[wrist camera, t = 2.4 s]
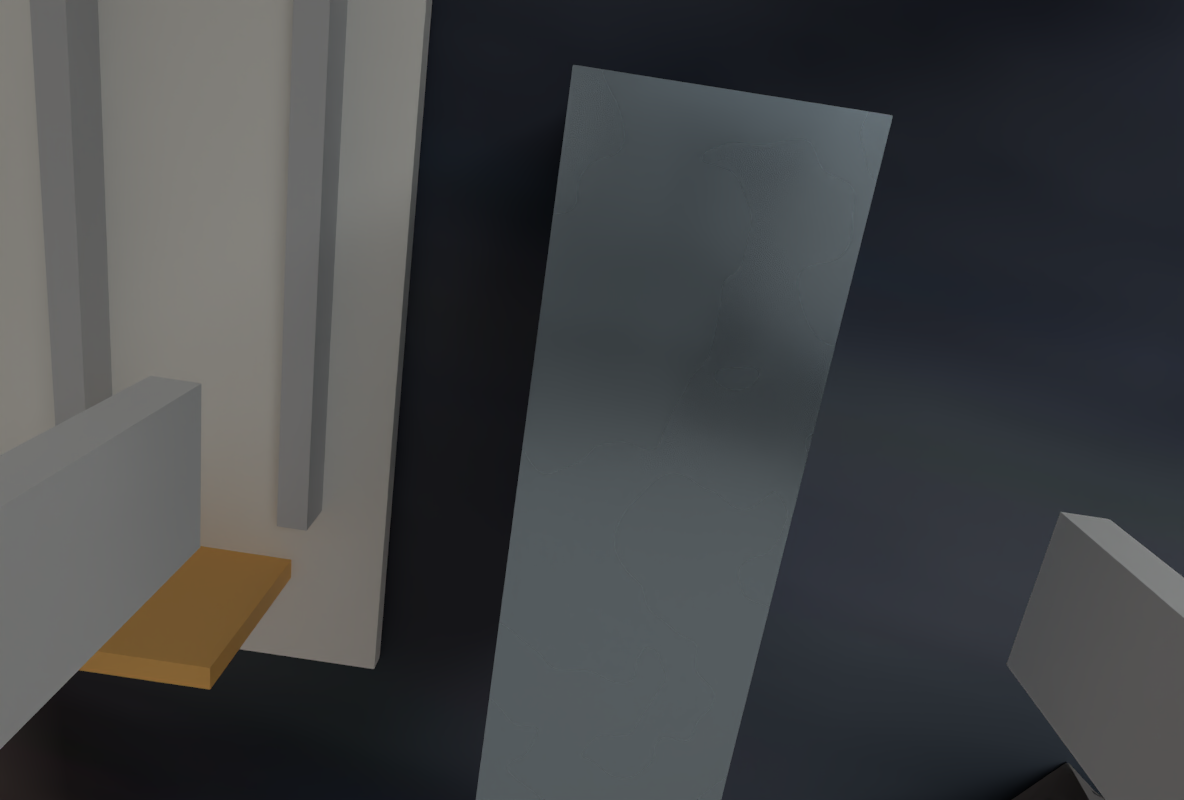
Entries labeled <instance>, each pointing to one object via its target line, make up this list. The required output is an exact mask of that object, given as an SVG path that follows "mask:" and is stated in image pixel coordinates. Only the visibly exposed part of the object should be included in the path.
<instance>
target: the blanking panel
mask: <svg viewBox="0 0 1184 800" xmlns="http://www.w3.org/2000/svg"><path fill="white" fill-rule="evenodd" d="M892 117H893V115H887V114H881V113H875V112H868V111H862V110H856V109H849V108H843V107H837V106H830V105H824V104H818V103H812V102H805V101H799V100H793V99H786V98H780V97H774V96H767V95H761V94H755V93H749V92H742V91H736V90H730V89H723V88H717V87H711V86H704V85H698V84H692V83H686V82H679V81H673V80H667V79H660V78H654V77H648V76H641V75H635V74H629V73H622V72H616V71H610V70H604V69H597V68H591V67H585V66H578V65H573V68H572V76H571V84H570V91H569V99H568V106H567V114H566V121H565V129H564V136H563V144H562V152H561V159H560V167H559V174H558V182H557V189H556V197H555V205H554V212H553V220H552V227H551V235H550V242H549V250H548V257H547V265H546V273H545V280H544V288H543V295H542V303H541V310H540V318H539V326H538V333H537V341H536V348H535V356H534V363H533V371H532V378H531V386H530V394H529V401H528V409H527V416H526V424H525V431H524V439H523V447H522V454H521V462H520V469H519V477H518V484H517V492H516V499H515V507H514V515H513V522H512V530H511V537H510V545H509V552H508V560H507V568H506V575H505V583H504V590H503V598H502V605H501V613H500V620H499V628H498V636H497V643H496V651H495V658H494V666H493V673H492V681H491V689H490V696H489V704H488V711H487V719H486V726H485V734H484V741H483V749H482V757H481V764H480V772H479V779H478V787H477V794H476V800H721V798H722V794H723V790H724V786H725V782H726V778H727V774H728V770H729V766H730V762H731V758H732V754H733V750H734V746H735V742H736V738H737V734H738V730H739V726H740V722H741V718H742V714H743V710H744V706H745V702H746V699H747V695H748V691H749V687H750V683H751V679H752V675H753V671H754V667H755V663H756V659H757V655H758V651H759V647H760V643H761V639H762V635H763V631H764V627H765V623H766V619H767V615H768V611H769V607H770V603H771V599H772V595H773V591H774V587H775V583H776V579H777V575H778V571H779V567H780V563H781V559H782V555H783V551H784V547H785V543H786V539H787V535H788V531H789V527H790V523H791V519H792V515H793V511H794V507H795V503H796V499H797V496H798V492H799V488H800V484H801V480H802V476H803V472H804V468H805V464H806V460H807V456H808V452H809V448H810V444H811V440H812V436H813V432H814V428H815V424H816V420H817V416H818V412H819V408H820V404H821V400H822V396H823V392H824V388H825V384H826V380H827V376H828V372H829V368H830V364H831V360H832V356H833V352H834V348H835V344H836V340H837V336H838V332H839V328H840V324H841V320H842V316H843V312H844V308H845V304H846V300H847V296H848V293H849V289H850V285H851V281H852V277H853V273H854V269H855V265H856V261H857V257H858V253H859V249H860V245H861V241H862V237H863V233H864V229H865V225H866V221H867V217H868V213H869V209H870V205H871V201H872V197H873V193H874V189H875V185H876V181H877V177H878V173H879V169H880V165H881V161H882V157H883V153H884V149H885V145H886V141H887V137H888V133H889V129H890V125H891V121H892Z"/></svg>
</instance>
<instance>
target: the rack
mask: <svg viewBox="0 0 1184 800" xmlns="http://www.w3.org/2000/svg"><path fill="white" fill-rule="evenodd" d="M431 10H432V0H0V455H2V454H4V453H6V452H7V451H9V450H11V449H13V448H15V447H17V446H19V445H21V444H23V443H24V442H26V441H28V440H30V439H32V438H34V437H36V436H38V435H39V434H41V433H43V432H45V431H47V430H49V429H51V428H53V427H55V426H56V425H58V424H60V423H62V422H64V421H66V420H68V419H70V418H71V417H73V416H75V415H77V414H79V413H81V412H83V411H85V410H87V409H88V408H90V407H92V406H94V405H96V404H98V403H100V402H102V401H104V400H105V399H107V398H109V397H111V396H113V395H115V394H117V393H119V392H120V391H122V390H124V389H126V388H128V387H130V386H132V385H134V384H136V383H137V382H139V381H141V380H143V379H145V378H147V377H149V376H155V377H162V378H168V379H175V380H182V381H188V382H195V383H201V524H200V548H199V549H198V550H197V551H196V552H195V553H194V554H193V555H192V556H191V557H190V558H189V559H188V560H187V561H186V562H185V563H184V564H183V565H182V566H181V567H180V568H179V569H178V570H177V571H176V572H175V573H174V574H173V575H172V576H171V577H170V578H169V579H168V580H167V581H166V582H165V583H164V584H163V585H162V586H161V587H160V588H159V589H158V590H157V592H156V593H155V594H154V595H153V596H152V597H151V598H150V599H149V600H148V601H147V602H146V603H145V604H144V605H143V606H142V607H141V608H140V609H139V610H138V611H137V612H136V613H135V614H134V615H133V616H132V617H131V618H130V619H129V620H128V621H127V622H126V623H125V624H124V625H123V626H122V627H121V628H120V629H119V630H118V631H117V632H116V633H115V634H114V635H113V636H112V637H111V638H110V639H109V640H108V641H107V642H106V643H105V644H104V645H103V646H102V647H101V648H100V649H99V650H98V651H97V652H96V653H95V654H94V655H93V656H92V657H91V658H90V659H89V660H88V661H87V662H86V663H85V664H84V665H83V666H82V667H81V668H80V669H79V670H81V671H87V672H94V673H101V674H108V675H114V676H121V677H128V678H135V679H142V680H148V681H155V682H162V683H169V684H175V685H182V686H189V687H196V688H202V689H209V690H210V689H211V688H212V686H213V685H214V683H215V682H216V681H217V679H218V678H219V677H220V675H221V674H222V672H223V671H224V670H225V668H226V667H227V665H228V664H229V663H230V661H231V660H232V659H233V657H234V656H235V654H236V653H237V652H238V650H239V649H241V650H248V651H255V652H262V653H268V654H275V655H282V656H289V657H295V658H302V659H309V660H315V661H322V662H329V663H336V664H342V665H349V666H356V667H363V668H369V669H375V666H376V664H377V662H378V660H379V657H380V647H381V634H382V622H383V609H384V597H385V585H386V572H387V560H388V547H389V535H390V522H391V510H392V497H393V485H394V472H395V460H396V447H397V435H398V422H399V410H400V397H401V385H402V372H403V360H404V347H405V335H406V322H407V310H408V297H409V285H410V272H411V260H412V247H413V235H414V222H415V210H416V197H417V185H418V172H419V160H420V147H421V135H422V122H423V110H424V97H425V85H426V72H427V60H428V47H429V35H430V22H431Z"/></svg>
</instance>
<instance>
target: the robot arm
mask: <svg viewBox="0 0 1184 800" xmlns="http://www.w3.org/2000/svg"><path fill="white" fill-rule="evenodd" d="M200 524H201V383H195V382H188V381H182V380H175V379H168V378H162V377H155V376H149V377H147V378H145V379H143V380H141V381H139V382H137V383H136V384H134V385H132V386H130V387H128V388H126V389H124V390H122V391H120V392H119V393H117V394H115V395H113V396H111V397H109V398H107V399H105V400H104V401H102V402H100V403H98V404H96V405H94V406H92V407H90V408H88V409H87V410H85V411H83V412H81V413H79V414H77V415H75V416H73V417H71V418H70V419H68V420H66V421H64V422H62V423H60V424H58V425H56V426H55V427H53V428H51V429H49V430H47V431H45V432H43V433H41V434H39V435H38V436H36V437H34V438H32V439H30V440H28V441H26V442H24V443H23V444H21V445H19V446H17V447H15V448H13V449H11V450H9V451H7V452H6V453H4V454H2V455H0V749H1V748H2V747H3V746H4V745H5V744H6V743H7V742H8V741H9V740H10V739H11V738H12V737H13V736H14V735H15V734H16V733H17V732H18V731H19V730H20V729H21V728H22V727H23V726H24V725H25V724H26V723H27V722H28V721H29V720H30V719H31V718H32V717H33V716H34V715H35V714H36V713H37V712H38V711H39V710H40V709H41V708H42V707H43V706H44V705H45V704H46V703H47V702H48V701H49V700H50V698H51V697H52V696H53V695H54V694H55V693H56V692H57V691H58V690H59V689H60V688H61V687H62V686H63V685H64V684H65V683H66V682H67V681H68V680H69V679H70V678H71V677H72V676H73V675H74V674H75V673H76V672H77V671H78V670H79V669H80V668H81V667H82V666H83V665H84V664H85V663H86V662H87V661H88V660H89V659H90V658H91V657H92V656H93V655H94V654H95V653H96V652H97V651H98V650H99V649H100V648H101V647H102V646H103V645H104V644H105V643H106V642H107V641H108V640H109V639H110V638H111V637H112V636H113V635H114V634H115V633H116V632H117V631H118V630H119V629H120V628H121V627H122V626H123V625H124V624H125V623H126V622H127V621H128V620H129V619H130V618H131V617H132V616H133V615H134V614H135V613H136V612H137V611H138V610H139V609H140V608H141V607H142V606H143V605H144V604H145V603H146V602H147V601H148V600H149V599H150V598H151V597H152V596H153V595H154V594H155V593H156V592H157V590H158V589H159V588H160V587H161V586H162V585H163V584H164V583H165V582H166V581H167V580H168V579H169V578H170V577H171V576H172V575H173V574H174V573H175V572H176V571H177V570H178V569H179V568H180V567H181V566H182V565H183V564H184V563H185V562H186V561H187V560H188V559H189V558H190V557H191V556H192V555H193V554H194V553H195V552H196V551H197V550H198V549H199V548H200ZM1006 665H1007V666H1008V667H1009V669H1010V670H1011V671H1012V673H1013V674H1014V676H1015V677H1016V678H1017V680H1018V681H1019V682H1020V684H1021V685H1022V686H1023V688H1024V689H1025V691H1026V692H1027V693H1028V695H1029V696H1030V697H1031V699H1032V700H1033V701H1034V703H1035V704H1036V706H1037V707H1038V708H1039V710H1040V711H1041V712H1042V714H1043V715H1044V717H1045V718H1046V719H1047V721H1048V722H1049V723H1050V725H1051V726H1052V727H1053V729H1054V730H1055V732H1056V733H1057V734H1058V736H1059V737H1060V738H1061V740H1062V741H1063V742H1064V744H1065V745H1066V747H1067V748H1068V749H1069V751H1070V752H1071V753H1072V755H1073V756H1074V758H1075V759H1076V760H1077V762H1078V763H1079V764H1080V766H1081V767H1082V768H1083V770H1084V771H1085V773H1086V774H1087V775H1088V777H1089V778H1090V779H1091V781H1092V782H1093V783H1094V785H1095V786H1096V788H1097V789H1098V790H1099V792H1100V793H1101V794H1102V796H1103V797H1104V799H1105V800H1184V578H1183V577H1182V576H1181V575H1179V574H1178V573H1177V572H1176V571H1174V570H1173V569H1172V568H1171V567H1169V566H1168V565H1167V564H1166V563H1164V562H1163V561H1162V560H1160V559H1159V558H1158V557H1157V556H1155V555H1154V554H1153V553H1152V552H1150V551H1149V550H1148V549H1147V548H1145V547H1144V546H1143V545H1141V544H1140V543H1139V542H1138V541H1136V540H1135V539H1134V538H1133V537H1131V536H1130V535H1129V534H1127V533H1126V532H1125V531H1124V530H1122V529H1121V528H1120V527H1119V526H1117V525H1116V524H1115V523H1114V522H1112V521H1111V520H1110V519H1105V518H1098V517H1091V516H1084V515H1078V514H1071V513H1064V512H1060V515H1059V517H1058V520H1057V523H1056V526H1055V529H1054V531H1053V534H1052V537H1051V540H1050V543H1049V546H1048V548H1047V551H1046V554H1045V557H1044V560H1043V563H1042V565H1041V568H1040V571H1039V574H1038V577H1037V579H1036V582H1035V585H1034V588H1033V591H1032V594H1031V596H1030V599H1029V602H1028V605H1027V608H1026V610H1025V613H1024V616H1023V619H1022V622H1021V625H1020V627H1019V630H1018V633H1017V636H1016V639H1015V642H1014V644H1013V647H1012V650H1011V653H1010V656H1009V658H1008V661H1007V664H1006Z"/></svg>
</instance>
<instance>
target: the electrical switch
mask: <svg viewBox="0 0 1184 800" xmlns="http://www.w3.org/2000/svg"><path fill="white" fill-rule="evenodd" d="M1068 764H1069V763H1068ZM1068 764H1067V763H1066V764H1064V765H1062V766H1061V767H1059V768H1058V769H1056V770H1055V771H1053V772H1052V773H1050V774H1049V775H1047V776H1046V777H1044V778H1043V779H1041V780H1040V781H1038V782H1037V783H1035V784H1034V785H1033V786H1031V787H1030V788H1028V789H1027V790H1025V791H1024V792H1022V793H1021V794H1019V795H1018V796H1016V797H1015V798H1013V799H1012V800H1105V799H1104V797H1102V796H1101V795H1099V794H1098V793H1097V792H1095V791H1094V790H1093V789H1092V788H1091V787H1090V786H1089V784H1088V783H1087V782H1086V781H1085V780H1084V779H1083V778H1082V777H1081V776H1080V775H1079V774H1078V773H1077V772H1076V770H1075V769H1074V768H1073V767H1072V766H1071V765H1070V764H1069V765H1070V766H1069V765H1068Z"/></svg>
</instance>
